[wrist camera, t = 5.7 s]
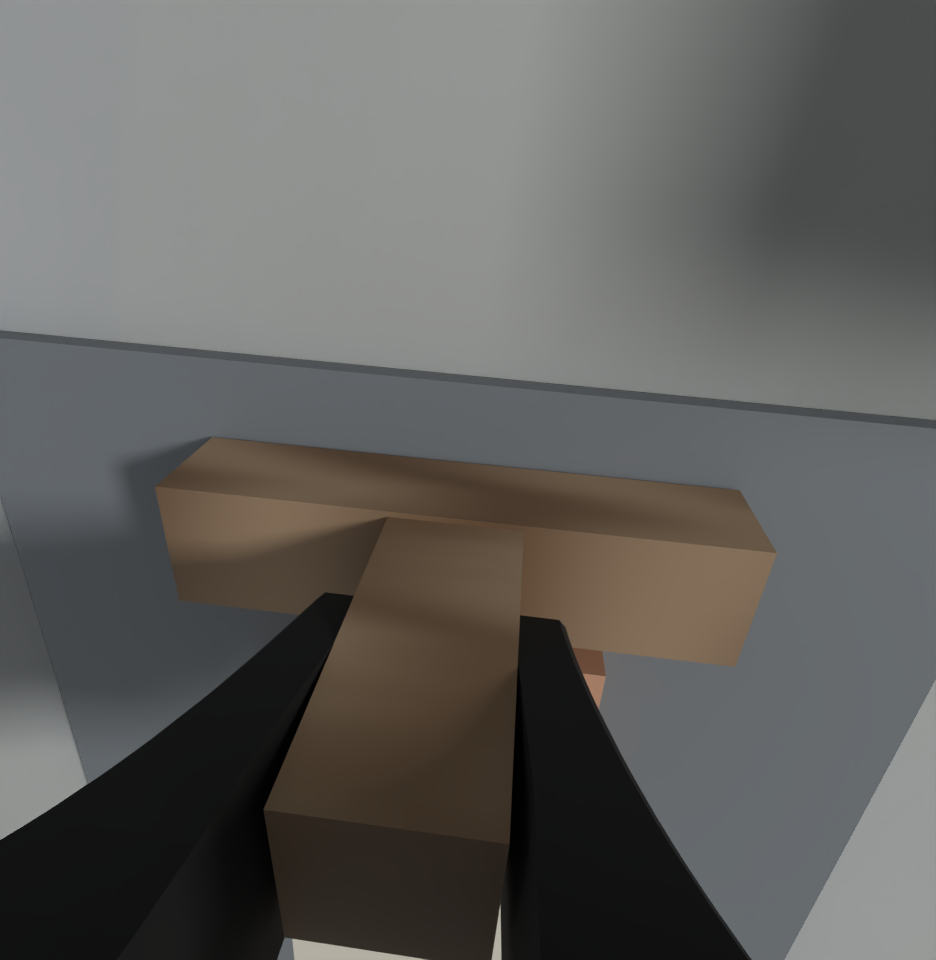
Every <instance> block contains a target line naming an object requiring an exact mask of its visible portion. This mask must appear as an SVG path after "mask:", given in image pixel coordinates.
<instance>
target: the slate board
mask: <svg viewBox="0 0 936 960" xmlns="http://www.w3.org/2000/svg"><path fill="white" fill-rule="evenodd" d="M212 437H216V438H226V439H235V440H245V441H255V442H265V443H275V444H285V445H295V446H305V447H315V448H325V449H335V450H345V451H354V452H364V453H374V454H384V455H394V456H404V457H414V458H424V459H434V460H444V461H454V462H464V463H473V464H483V465H493V466H503V467H513V468H523V469H533V470H543V471H553V472H563V473H573V474H583V475H592V476H602V477H612V478H622V479H632V480H642V481H652V482H662V483H672V484H682V485H692V486H701V487H711V488H721V489H731V490H740V491H741V493H742V495H743V497H744V498H745V500H746V502H747V503H748V505H749V507H750V508H751V510H752V512H753V513H754V515H755V517H756V518H757V520H758V522H759V523H760V525H761V527H762V528H763V530H764V532H765V534H766V535H767V537H768V539H769V540H770V542H771V544H772V545H773V547H774V549H775V550H776V552H777V555H776V558H775V560H774V563H773V566H772V569H771V571H770V574H769V577H768V579H767V582H766V585H765V588H764V590H763V593H762V596H761V598H760V601H759V604H758V607H757V609H756V612H755V615H754V617H753V620H752V623H751V626H750V628H749V631H748V634H747V636H746V639H745V642H744V645H743V647H742V650H741V653H740V656H739V658H738V661H737V664H736V666H735V667H732V666H723V665H715V664H707V663H698V662H690V661H681V660H673V659H665V658H656V657H648V656H640V655H631V654H623V653H614V652H606V651H602V652H603V659H604V666H605V673H606V678H605V683H604V687H603V692H602V696H601V701H600V705H599V711H600V713H601V715H602V717H603V719H604V721H605V723H606V725H607V727H608V729H609V731H610V733H611V735H612V737H613V739H614V741H615V743H616V745H617V747H618V749H619V751H620V753H621V755H622V756H623V758H624V760H625V762H626V764H627V766H628V768H629V769H630V771H631V773H632V775H633V777H634V779H635V780H636V782H637V784H638V786H639V787H640V789H641V791H642V792H643V794H644V796H645V798H646V799H647V801H648V803H649V805H650V806H651V808H652V810H653V811H654V813H655V815H656V817H657V818H658V820H659V822H660V823H661V825H662V826H663V828H664V830H665V831H666V833H667V835H668V836H669V838H670V840H671V841H672V843H673V844H674V846H675V848H676V849H677V851H678V852H679V854H680V855H681V857H682V859H683V860H684V862H685V863H686V865H687V866H688V868H689V869H690V871H691V872H692V874H693V875H694V877H695V878H696V880H697V881H698V883H699V884H700V886H701V887H702V889H703V890H704V892H705V893H706V895H707V896H708V898H709V899H710V901H711V902H712V904H713V905H714V907H715V908H716V910H717V911H718V913H719V914H720V915H721V917H722V918H723V920H724V921H725V923H726V924H727V925H728V927H729V928H730V930H731V931H732V932H733V934H734V935H735V937H736V938H737V940H738V941H739V942H740V944H741V945H742V947H743V948H744V949H745V951H746V952H747V954H748V955H749V957H750V958H751V959H752V960H784V959H785V957H786V955H787V954H788V952H789V950H790V948H791V946H792V944H793V943H794V941H795V939H796V937H797V935H798V933H799V931H800V930H801V928H802V926H803V924H804V922H805V920H806V918H807V917H808V915H809V913H810V911H811V909H812V907H813V905H814V904H815V902H816V900H817V898H818V896H819V894H820V893H821V891H822V889H823V887H824V885H825V883H826V881H827V880H828V878H829V876H830V874H831V872H832V870H833V868H834V867H835V865H836V863H837V861H838V859H839V857H840V856H841V854H842V852H843V850H844V848H845V846H846V844H847V843H848V841H849V839H850V837H851V835H852V833H853V831H854V830H855V828H856V826H857V824H858V822H859V820H860V818H861V817H862V815H863V813H864V811H865V809H866V807H867V806H868V804H869V802H870V800H871V798H872V796H873V794H874V793H875V791H876V789H877V787H878V785H879V783H880V781H881V780H882V778H883V776H884V774H885V772H886V770H887V768H888V767H889V765H890V763H891V761H892V759H893V757H894V756H895V754H896V752H897V750H898V748H899V746H900V744H901V743H902V741H903V739H904V737H905V735H906V733H907V731H908V730H909V728H910V726H911V724H912V722H913V720H914V718H915V717H916V715H917V713H918V711H919V709H920V707H921V706H922V704H923V702H924V700H925V698H926V696H927V694H928V693H929V691H930V689H931V687H932V685H933V683H934V681H935V680H936V420H926V419H916V418H905V417H895V416H884V415H874V414H864V413H853V412H843V411H832V410H822V409H812V408H801V407H791V406H780V405H770V404H759V403H749V402H739V401H728V400H718V399H707V398H697V397H687V396H676V395H666V394H655V393H645V392H635V391H624V390H614V389H603V388H593V387H582V386H572V385H562V384H551V383H541V382H530V381H520V380H510V379H499V378H489V377H478V376H468V375H458V374H447V373H437V372H426V371H416V370H405V369H395V368H385V367H374V366H364V365H353V364H343V363H333V362H322V361H312V360H301V359H291V358H281V357H270V356H260V355H249V354H239V353H228V352H218V351H208V350H197V349H187V348H176V347H166V346H156V345H145V344H135V343H124V342H114V341H104V340H93V339H83V338H72V337H62V336H52V335H41V334H31V333H20V332H10V331H0V495H1V498H2V502H3V505H4V508H5V512H6V515H7V518H8V521H9V525H10V528H11V531H12V535H13V538H14V541H15V544H16V548H17V551H18V554H19V558H20V561H21V564H22V567H23V571H24V574H25V577H26V580H27V584H28V587H29V590H30V594H31V597H32V600H33V603H34V607H35V610H36V613H37V617H38V620H39V623H40V626H41V630H42V633H43V636H44V640H45V643H46V646H47V649H48V653H49V656H50V659H51V662H52V666H53V669H54V672H55V676H56V679H57V682H58V685H59V689H60V692H61V695H62V699H63V702H64V705H65V708H66V712H67V715H68V718H69V722H70V725H71V728H72V731H73V735H74V738H75V741H76V745H77V748H78V751H79V754H80V758H81V761H82V764H83V767H84V771H85V774H86V777H87V781H88V784H89V783H90V782H92V781H93V780H95V779H96V778H97V777H99V776H100V775H102V774H103V773H105V772H106V771H107V770H109V769H110V768H112V767H113V766H115V765H116V764H117V763H119V762H120V761H122V760H123V759H124V758H126V757H127V756H128V755H130V754H131V753H133V752H134V751H135V750H137V749H138V748H140V747H141V746H142V745H144V744H145V743H146V742H148V741H149V740H150V739H152V738H153V737H154V736H155V735H157V734H158V733H159V732H161V731H162V730H163V729H164V728H166V727H167V726H168V725H170V724H171V723H172V722H173V721H175V720H176V719H177V718H179V717H180V716H181V715H182V714H184V713H185V712H186V711H188V710H189V709H190V708H191V707H193V706H194V705H195V704H197V703H198V702H199V701H200V700H202V699H203V698H204V697H205V696H207V695H208V694H209V693H210V692H212V691H213V690H214V689H215V688H216V687H218V686H219V685H220V684H221V683H222V682H223V681H225V680H226V679H227V678H228V677H229V676H230V675H232V674H233V673H234V672H235V671H236V670H237V669H239V668H240V667H241V666H242V665H243V664H245V663H246V662H247V661H248V660H249V659H250V658H252V657H253V656H254V655H255V654H256V653H257V652H259V651H260V650H261V649H262V648H263V647H264V646H265V645H266V644H268V643H269V642H270V641H271V640H272V639H273V638H274V637H275V636H276V635H278V634H279V633H280V632H281V631H282V630H283V629H284V628H285V627H286V626H288V625H289V624H290V623H291V622H292V621H293V620H294V619H295V618H296V617H297V616H298V615H296V614H288V613H279V612H271V611H262V610H254V609H246V608H237V607H229V606H221V605H212V604H204V603H195V602H187V601H179V597H178V593H177V588H176V583H175V579H174V574H173V569H172V565H171V560H170V555H169V551H168V546H167V541H166V537H165V532H164V527H163V523H162V518H161V513H160V509H159V504H158V499H157V495H156V490H155V486H156V485H157V484H158V483H159V482H161V481H162V480H163V479H164V478H165V477H166V476H168V475H169V474H170V473H171V472H172V471H173V470H175V469H176V468H177V467H178V466H179V465H180V464H182V463H183V462H184V461H185V460H186V459H187V458H189V457H190V456H191V455H192V454H193V453H194V452H196V451H197V450H198V449H199V448H200V447H202V446H203V445H204V444H205V443H206V442H207V441H209V440H210V439H211V438H212ZM277 960H426V959H420V958H414V957H407V956H401V955H394V954H388V953H381V952H375V951H368V950H362V949H355V948H349V947H343V946H336V945H330V944H323V943H317V942H310V941H304V940H297V939H291V938H284V941H283V944H282V947H281V950H280V953H279V956H278V959H277ZM492 960H501V909H499V916H498V922H497V928H496V935H495V941H494V948H493V954H492Z"/></svg>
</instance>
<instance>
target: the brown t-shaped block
mask: <svg viewBox="0 0 936 960" xmlns="http://www.w3.org/2000/svg"><path fill="white" fill-rule="evenodd" d="M155 490H156V495H157V499H158V504H159V509H160V513H161V518H162V523H163V527H164V532H165V537H166V541H167V546H168V551H169V555H170V560H171V565H172V569H173V574H174V579H175V583H176V588H177V593H178V597H179V601H187V602H195V603H204V604H212V605H221V606H229V607H237V608H246V609H254V610H262V611H271V612H279V613H288V614H296V615H300V614H301V613H302V612H303V611H304V610H305V609H306V608H307V607H308V606H309V605H311V604H312V603H313V602H314V601H315V600H316V599H317V598H318V597H320V596H321V595H322V594H324V593H325V592H327V593H336V594H344V595H353V596H354V597H353V600H352V602H351V604H350V607H349V609H348V611H347V614H346V616H345V618H344V621H343V623H342V626H341V628H340V630H339V633H338V635H337V637H336V640H335V642H334V644H333V647H332V649H331V651H330V654H329V656H328V659H327V661H326V663H325V666H324V668H323V670H322V673H321V675H320V677H319V680H318V682H317V684H316V687H315V689H314V692H313V694H312V696H311V699H310V701H309V703H308V706H307V708H306V710H305V713H304V715H303V717H302V720H301V722H300V725H299V727H298V729H297V732H296V734H295V736H294V739H293V741H292V743H291V746H290V748H289V750H288V753H287V755H286V758H285V760H284V762H283V765H282V767H281V769H280V772H279V774H278V776H277V779H276V781H275V783H274V786H273V788H272V790H271V793H270V795H269V798H268V800H267V802H266V805H265V807H264V809H263V810H264V816H265V822H266V828H267V834H268V841H269V847H270V853H271V859H272V865H273V871H274V877H275V883H276V889H277V895H278V901H279V908H280V914H281V920H282V926H283V932H284V938H291V939H297V940H304V941H310V942H317V943H323V944H330V945H336V946H343V947H349V948H355V949H362V950H368V951H375V952H381V953H388V954H394V955H401V956H407V957H414V958H420V959H426V960H492V954H493V948H494V941H495V935H496V928H497V922H498V916H499V909H500V903H501V896H502V890H503V883H504V877H505V870H506V864H507V857H508V851H509V845H510V823H511V801H512V779H513V757H514V735H515V713H516V691H517V669H518V647H519V625H520V615H522V616H531V617H539V618H548V619H556V620H560V621H561V623H562V624H563V625H564V626H565V627H566V630H567V634H568V637H569V640H570V643H571V645H572V648H581V649H589V650H598V651H606V652H614V653H623V654H631V655H640V656H648V657H656V658H665V659H673V660H681V661H690V662H698V663H707V664H715V665H723V666H732V667H735V666H736V664H737V661H738V658H739V656H740V653H741V650H742V647H743V645H744V642H745V639H746V636H747V634H748V631H749V628H750V626H751V623H752V620H753V617H754V615H755V612H756V609H757V607H758V604H759V601H760V598H761V596H762V593H763V590H764V588H765V585H766V582H767V579H768V577H769V574H770V571H771V569H772V566H773V563H774V560H775V558H776V555H777V552H776V550H775V549H774V547H773V545H772V544H771V542H770V540H769V539H768V537H767V535H766V534H765V532H764V530H763V528H762V527H761V525H760V523H759V522H758V520H757V518H756V517H755V515H754V513H753V512H752V510H751V508H750V507H749V505H748V503H747V502H746V500H745V498H744V497H743V495H742V493H741V491H740V490H731V489H721V488H711V487H701V486H692V485H682V484H672V483H662V482H652V481H642V480H632V479H622V478H612V477H602V476H592V475H583V474H573V473H563V472H553V471H543V470H533V469H523V468H513V467H503V466H493V465H483V464H473V463H464V462H454V461H444V460H434V459H424V458H414V457H404V456H394V455H384V454H374V453H364V452H354V451H345V450H335V449H325V448H315V447H305V446H295V445H285V444H275V443H265V442H255V441H245V440H235V439H226V438H216V437H212V438H211V439H210V440H209V441H207V442H206V443H205V444H204V445H203V446H202V447H200V448H199V449H198V450H197V451H196V452H194V453H193V454H192V455H191V456H190V457H189V458H187V459H186V460H185V461H184V462H183V463H182V464H180V465H179V466H178V467H177V468H176V469H175V470H173V471H172V472H171V473H170V474H169V475H168V476H166V477H165V478H164V479H163V480H162V481H161V482H159V483H158V484H157V485H156V486H155Z"/></svg>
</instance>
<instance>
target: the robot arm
mask: <svg viewBox="0 0 936 960" xmlns="http://www.w3.org/2000/svg"><path fill="white" fill-rule="evenodd" d="M353 597H354V596H353V595H344V594H336V593H327V592H325V593H324V594H322V595H321V596H320V597H318V598H317V599H316V600H315V601H314V602H313V603H312V604H311V605H309V606H308V607H307V608H306V609H305V610H304V611H303V612H302V613H301V614H300V615H298V616H297V617H296V618H295V619H294V620H293V621H292V622H291V623H290V624H289V625H288V626H286V627H285V628H284V629H283V630H282V631H281V632H280V633H279V634H278V635H276V636H275V637H274V638H273V639H272V640H271V641H270V642H269V643H268V644H266V645H265V646H264V647H263V648H262V649H261V650H260V651H259V652H257V653H256V654H255V655H254V656H253V657H252V658H250V659H249V660H248V661H247V662H246V663H245V664H243V665H242V666H241V667H240V668H239V669H237V670H236V671H235V672H234V673H233V674H232V675H230V676H229V677H228V678H227V679H226V680H225V681H223V682H222V683H221V684H220V685H219V686H218V687H216V688H215V689H214V690H213V691H212V692H210V693H209V694H208V695H207V696H205V697H204V698H203V699H202V700H200V701H199V702H198V703H197V704H195V705H194V706H193V707H191V708H190V709H189V710H188V711H186V712H185V713H184V714H182V715H181V716H180V717H179V718H177V719H176V720H175V721H173V722H172V723H171V724H170V725H168V726H167V727H166V728H164V729H163V730H162V731H161V732H159V733H158V734H157V735H155V736H154V737H153V738H152V739H150V740H149V741H148V742H146V743H145V744H144V745H142V746H141V747H140V748H138V749H137V750H135V751H134V752H133V753H131V754H130V755H128V756H127V757H126V758H124V759H123V760H122V761H120V762H119V763H117V764H116V765H115V766H113V767H112V768H110V769H109V770H107V771H106V772H105V773H103V774H102V775H100V776H99V777H97V778H96V779H95V780H93V781H92V782H90V783H89V784H87V785H86V786H84V787H83V788H81V789H80V790H78V791H77V792H75V793H74V794H72V795H71V796H69V797H68V798H66V799H65V800H64V801H62V802H61V803H59V804H58V805H56V806H54V807H53V808H51V809H50V810H48V811H47V812H45V813H44V814H42V815H40V816H39V817H37V818H36V819H34V820H32V821H31V822H29V823H28V824H26V825H24V826H23V827H21V828H20V829H18V830H16V831H15V832H13V833H11V834H10V835H8V836H6V837H5V838H3V839H1V840H0V960H277V959H278V956H279V953H280V950H281V947H282V944H283V941H284V932H283V926H282V920H281V914H280V908H279V901H278V895H277V889H276V883H275V877H274V871H273V865H272V859H271V853H270V847H269V841H268V834H267V828H266V822H265V816H264V810H263V809H264V807H265V805H266V802H267V800H268V798H269V795H270V793H271V790H272V788H273V786H274V783H275V781H276V779H277V776H278V774H279V772H280V769H281V767H282V765H283V762H284V760H285V758H286V755H287V753H288V750H289V748H290V746H291V743H292V741H293V739H294V736H295V734H296V732H297V729H298V727H299V725H300V722H301V720H302V717H303V715H304V713H305V710H306V708H307V706H308V703H309V701H310V699H311V696H312V694H313V692H314V689H315V687H316V684H317V682H318V680H319V677H320V675H321V673H322V670H323V668H324V666H325V663H326V661H327V659H328V656H329V654H330V651H331V649H332V647H333V644H334V642H335V640H336V637H337V635H338V633H339V630H340V628H341V626H342V623H343V621H344V618H345V616H346V614H347V611H348V609H349V607H350V604H351V602H352V600H353ZM500 909H501V960H752V959H751V958H750V957H749V955H748V954H747V952H746V951H745V949H744V948H743V947H742V945H741V944H740V942H739V941H738V940H737V938H736V937H735V935H734V934H733V932H732V931H731V930H730V928H729V927H728V925H727V924H726V923H725V921H724V920H723V918H722V917H721V915H720V914H719V913H718V911H717V910H716V908H715V907H714V905H713V904H712V902H711V901H710V899H709V898H708V896H707V895H706V893H705V892H704V890H703V889H702V887H701V886H700V884H699V883H698V881H697V880H696V878H695V877H694V875H693V874H692V872H691V871H690V869H689V868H688V866H687V865H686V863H685V862H684V860H683V859H682V857H681V855H680V854H679V852H678V851H677V849H676V848H675V846H674V844H673V843H672V841H671V840H670V838H669V836H668V835H667V833H666V831H665V830H664V828H663V826H662V825H661V823H660V822H659V820H658V818H657V817H656V815H655V813H654V811H653V810H652V808H651V806H650V805H649V803H648V801H647V799H646V798H645V796H644V794H643V792H642V791H641V789H640V787H639V786H638V784H637V782H636V780H635V779H634V777H633V775H632V773H631V771H630V769H629V768H628V766H627V764H626V762H625V760H624V758H623V756H622V755H621V753H620V751H619V749H618V747H617V745H616V743H615V741H614V739H613V737H612V735H611V733H610V731H609V729H608V727H607V725H606V723H605V721H604V719H603V717H602V715H601V713H600V711H599V709H598V707H597V705H596V703H595V701H594V698H593V696H592V694H591V692H590V690H589V687H588V685H587V683H586V680H585V678H584V676H583V673H582V671H581V669H580V666H579V664H578V661H577V659H576V656H575V654H574V651H573V648H572V645H571V643H570V640H569V637H568V634H567V630H566V627H565V626H564V625H563V624H562V623H561V621H560V620H556V619H548V618H539V617H531V616H522V615H520V625H519V647H518V669H517V691H516V713H515V735H514V757H513V779H512V801H511V823H510V845H509V851H508V857H507V864H506V870H505V877H504V883H503V890H502V896H501V903H500Z"/></svg>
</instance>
